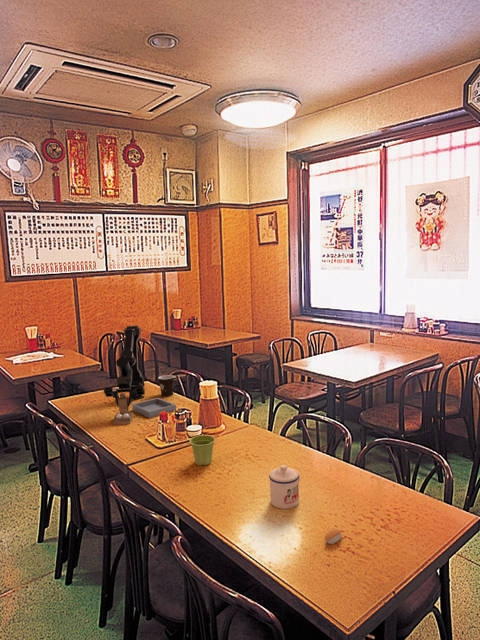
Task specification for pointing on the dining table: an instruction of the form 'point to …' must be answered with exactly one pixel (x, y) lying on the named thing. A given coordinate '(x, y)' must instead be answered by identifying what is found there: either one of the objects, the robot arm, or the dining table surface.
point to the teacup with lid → (284, 487)
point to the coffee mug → (167, 385)
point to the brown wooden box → (123, 411)
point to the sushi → (333, 536)
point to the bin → (153, 407)
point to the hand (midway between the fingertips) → (123, 406)
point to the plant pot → (202, 449)
